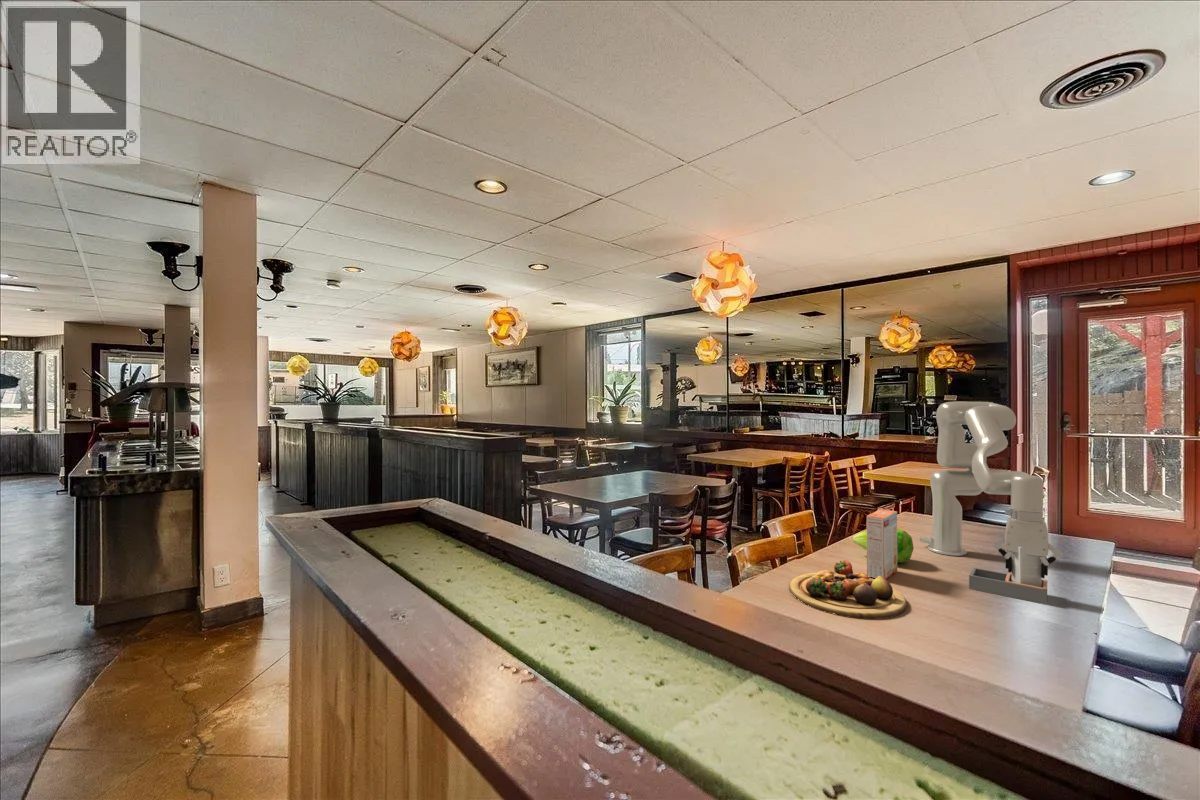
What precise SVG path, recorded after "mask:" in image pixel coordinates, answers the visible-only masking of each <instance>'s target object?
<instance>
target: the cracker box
mask: <svg viewBox="0 0 1200 800" xmlns="http://www.w3.org/2000/svg"><path fill="white" fill-rule="evenodd" d="M865 518H866V523H865V524H866V531H867V550H866V575H867V576H869V577H873V578H877V577H878V576H881V577H883V578H885V579H887V578H888V577H889V578H890V577H892V576H893V575H894V574H895V573H896V572H897V571H898V562H897V529H898V511H895V510H889V509H883V508H881V509H880V508H879V509H878V510H876V511H874V512H872V513H870V514H868V515H866V517H865ZM893 573H894V574H893ZM892 574H893V575H892ZM873 578H872V579H873ZM889 578H888V579H889ZM888 579H887V580H888Z"/></svg>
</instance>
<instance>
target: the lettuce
mask: <svg viewBox="0 0 1200 800" xmlns="http://www.w3.org/2000/svg"><path fill="white" fill-rule="evenodd" d="M852 542H853V543H854V544H856V545H858V546H859V547H861V548H862V549H863V550H865V551H867V530H864V531H861V532H858V533H856V534H855V535H853V536H852ZM914 548H915V547H914V542H913V537H912V536H911V535H910V534H909V533H908V531H906V530H903V529H899V528H897V563H900V564H901V563H906V561H909V560H910V559H911V558H912V554H913V552H914Z"/></svg>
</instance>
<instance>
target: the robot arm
mask: <svg viewBox="0 0 1200 800" xmlns="http://www.w3.org/2000/svg"><path fill="white" fill-rule="evenodd" d="M935 413H936V414H935V417H936V423H937V429H938V436H937V449H936V461H937V463H938V465H940V466H941V467H943V468H953V469H941V470H936V471H935V472H932V473H931V474H930V476H929V485H930V488H931V494H932V495H931V497H932V536H931V537H930V536H929V537H925V536H920V537H919V542H922V543H924V544H928V545H927V550H929V551H931V552H933V553H937V554H940V555H944V556H945V555H946V556H956V557H959V556H960V557H961V556H966V555H967V553H968V551H967V550H966V549H965V548H963V547H962V546H963V544H962V543H963V506H962V505H961V503H960V501H959V500H958V498H956V496H978V495H980V494H982V492H984V493H985V494H987V495H999V496H1000V495H1002V496H1003V495H1007V496H1010V509H1005V510H1004V515H1008V516H1009V518H1007V521H1006V524H1005V525H1006V526H1005V532H1004V533H1005V534H1004V537H1002V538H1000V539H997V540H995V541H993V543H992V544H993V547H994V548H995V549H996V550H997V551H998V552H999V554H1001V555H1002V557H1004V559H1005V569H1007V572H1008V573H1012V559H1011V555H1012V554H1013V553H1019V552H1018V547H1023V548H1024V554H1026V555H1031V556H1038V557H1040V559H1041V564H1042V565H1041V578H1042V579H1044V580H1045V578H1046V577H1047V576H1049V575H1048V574H1049V570H1048V569H1049V565H1051V564H1052V563H1054V562H1056V561H1057V560H1058V559H1059V558H1061V557H1062V556H1063V552H1061V551H1060V550H1059V549H1057V548H1056V547H1055V546H1053V544H1050V542H1049V530H1048V527H1047V523H1046V522H1045V521H1044V480H1043V478H1042V477H1040V476H1037V475H1031V474H1029V473H1028V472H1025V471H1020V470H1019V471H1017V470H991V469H990V468H989V465H988V463H987V458H988V457H990V456H993V455H996V454H998V453H1001V452H1003V451H1004V450H1005V449H1006V448H1007V447H1008V444H1009V441H1008V439H1007V437H1006V435H1005V433H1004V431H1009V430H1012V429H1014V427H1015V426H1016V423H1017V417H1016V414H1015V412H1014V411H1013V410H1012V409H1011V408H1010V407H1008V406H1006V405H1002V404H999V403H994V402H989V401H965V400H964V401H961V400H960V401H958V400H957V401H946V402H943V403H941V404H939V405H938V408H937V409H936V412H935ZM962 425H967V427H968V429H969V432H970V433H971V436H972V439H973V441H974V443H973V442H972V443H971V442H970V443H969V442H966V441H965V440H966V431H965V429H964V427H963V426H962ZM954 468H955V470H954ZM956 469H958V470H956ZM959 469H965V470H959ZM1003 544H1004V548H1005V549H1004V548H1003V547H1002V546H1001V545H1003ZM1049 551H1050V552H1052V553H1053V554H1052V555H1051V556H1050V557H1047V556H1048V555H1049Z"/></svg>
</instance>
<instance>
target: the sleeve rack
mask: <svg viewBox="0 0 1200 800" xmlns="http://www.w3.org/2000/svg"><path fill="white" fill-rule="evenodd" d="M968 589H969V590H973V591H979V592H984V593H988V594H992V593H993V594H994V595H999V596H1001V597H1002V596H1004V597H1006V598H1007V597H1008V598H1012V599H1017V600H1023V601H1027V602H1031V601H1032V603H1036V602H1037V604H1041V603H1042V605H1047V604H1048V603H1047V602H1048V579H1045V578H1044V579H1043V578H1042V587H1036V586H1031V585H1026V584H1021V583H1015V582H1012V572H1008V573H1005V572H1001V571H994V570H989V569H984V568H983V569H982V568H979V567H973V568H972V570H971V571H970V573H969V575H968ZM993 594H992V595H993Z"/></svg>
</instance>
